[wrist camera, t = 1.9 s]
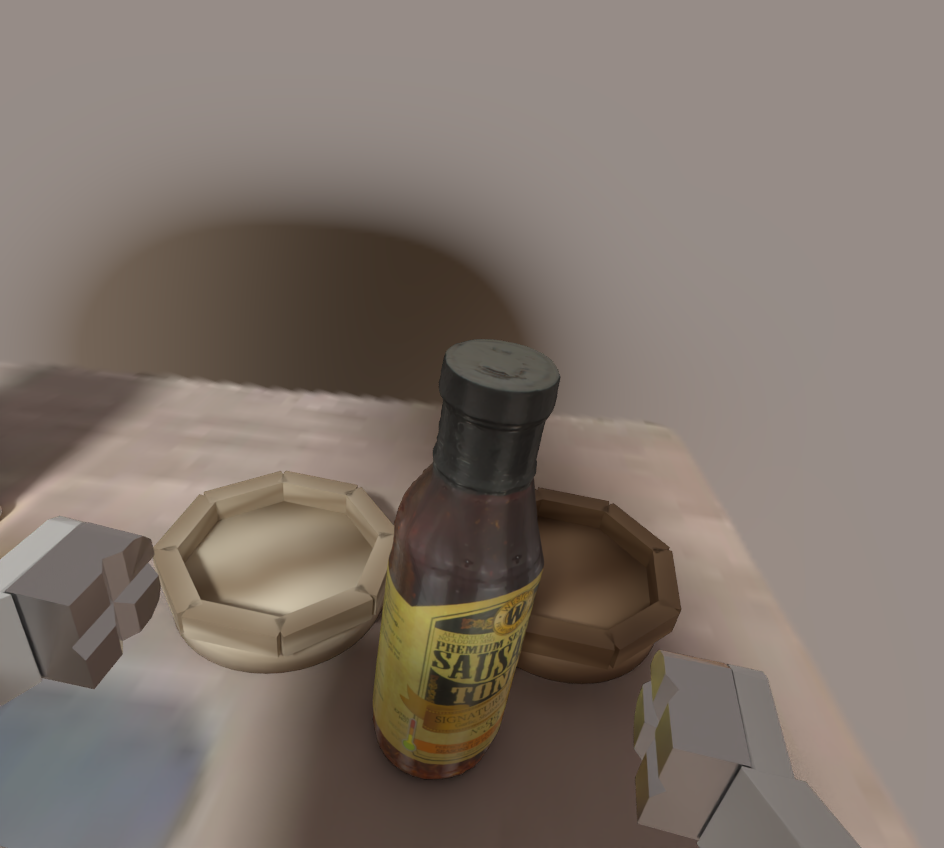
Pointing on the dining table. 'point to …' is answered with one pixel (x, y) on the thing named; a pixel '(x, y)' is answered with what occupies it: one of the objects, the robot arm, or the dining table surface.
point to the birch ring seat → (276, 571)
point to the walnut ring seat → (596, 592)
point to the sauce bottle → (464, 563)
